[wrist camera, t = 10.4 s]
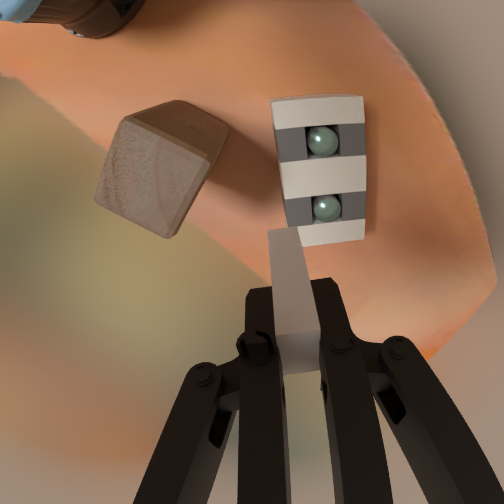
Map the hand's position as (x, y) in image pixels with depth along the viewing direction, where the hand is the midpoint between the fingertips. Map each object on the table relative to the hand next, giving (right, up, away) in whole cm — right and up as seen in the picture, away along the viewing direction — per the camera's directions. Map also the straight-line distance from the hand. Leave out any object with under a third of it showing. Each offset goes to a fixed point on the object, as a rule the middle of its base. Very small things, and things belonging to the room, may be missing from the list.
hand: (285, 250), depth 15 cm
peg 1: (+8, +18, +25) cm, 32 cm away
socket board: (+8, +14, +28) cm, 33 cm away
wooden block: (-11, +18, +26) cm, 34 cm away
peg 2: (+9, +10, +31) cm, 34 cm away
